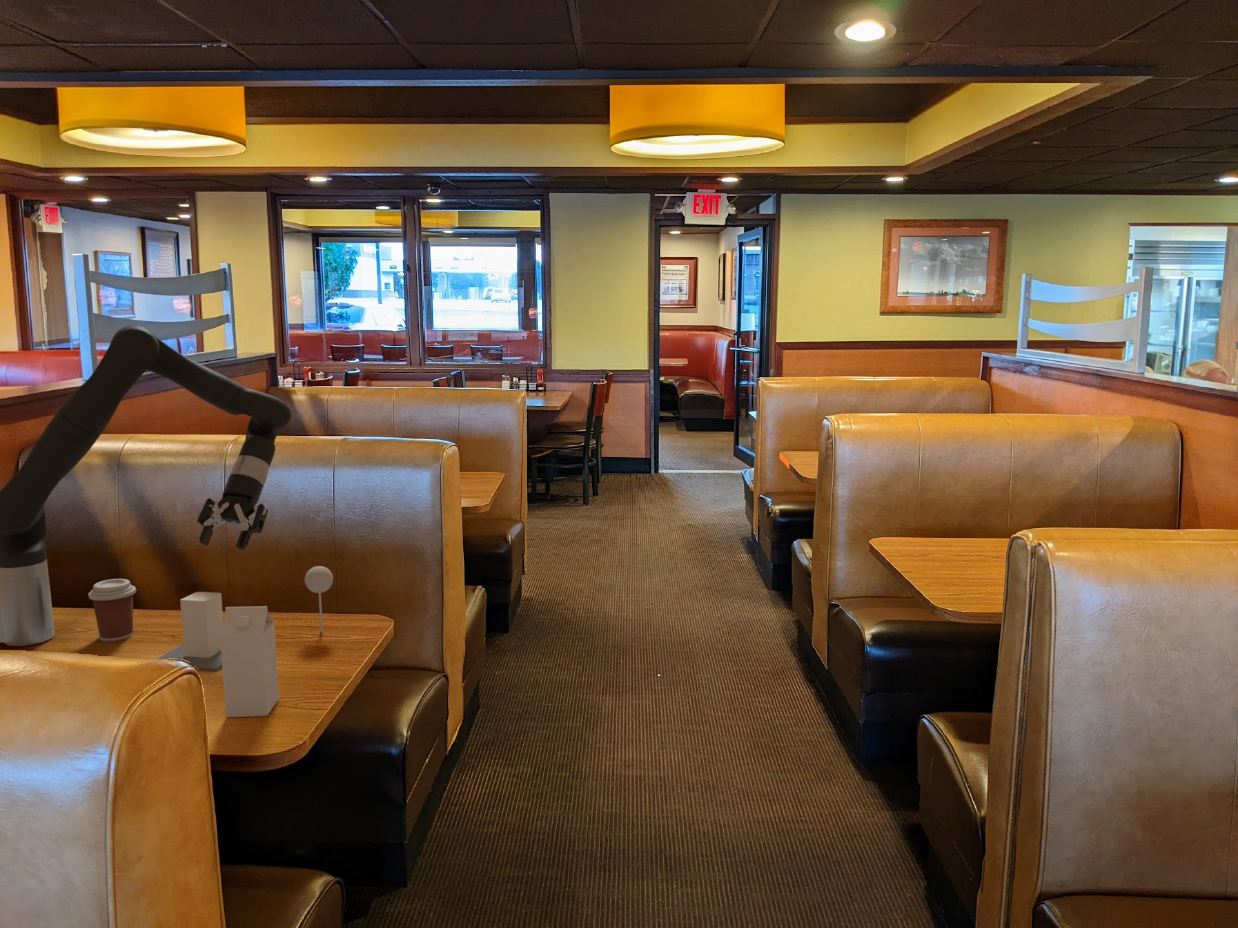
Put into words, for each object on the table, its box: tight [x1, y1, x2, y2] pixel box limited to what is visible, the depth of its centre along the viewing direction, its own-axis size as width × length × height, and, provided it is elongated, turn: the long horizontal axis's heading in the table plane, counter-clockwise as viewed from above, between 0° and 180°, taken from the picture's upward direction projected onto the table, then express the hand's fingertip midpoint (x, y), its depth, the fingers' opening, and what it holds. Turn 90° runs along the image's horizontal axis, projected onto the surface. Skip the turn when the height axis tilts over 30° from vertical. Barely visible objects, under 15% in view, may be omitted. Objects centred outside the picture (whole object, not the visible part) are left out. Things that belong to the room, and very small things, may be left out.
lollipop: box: [304, 565, 334, 633], centre depth 200 cm, size 6×6×15 cm
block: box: [179, 591, 224, 658], centre depth 187 cm, size 6×6×12 cm
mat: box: [157, 643, 223, 672], centre depth 188 cm, size 15×15×1 cm
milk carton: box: [220, 605, 280, 718], centre depth 161 cm, size 7×7×19 cm
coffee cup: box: [87, 578, 137, 642], centre depth 198 cm, size 9×9×12 cm
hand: (221, 546), depth 196 cm, fingers open, 8 cm apart
